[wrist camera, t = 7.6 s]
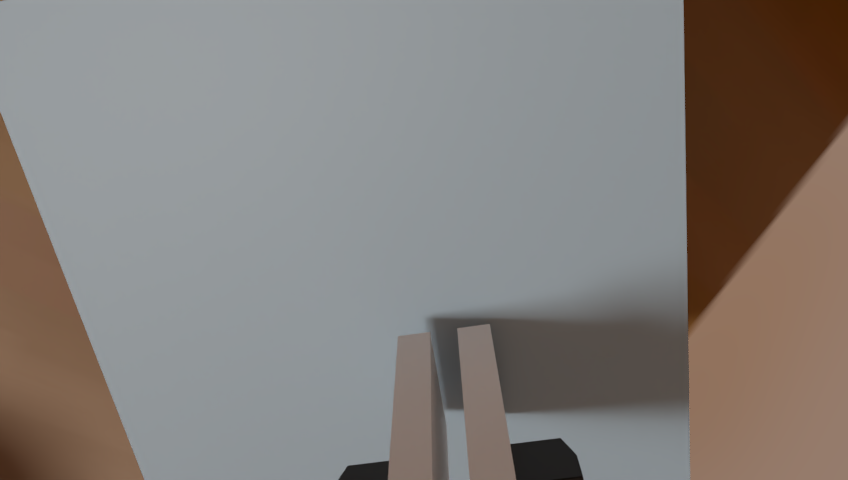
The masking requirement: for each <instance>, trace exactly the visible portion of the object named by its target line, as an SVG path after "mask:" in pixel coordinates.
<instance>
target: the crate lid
mask: <svg viewBox="0 0 848 480" xmlns="http://www.w3.org/2000/svg"><path fill="white" fill-rule="evenodd" d="M0 112H1V114H2V117H3V119H4V122H5V125H6V127H7V130H8V132H9V135H10V137H11V140H12V142H13V145H14V148H15V150H16V153H17V155H18V158H19V160H20V163H21V165H22V168H23V171H24V173H25V176H26V178H27V181H28V183H29V186H30V188H31V191H32V194H33V196H34V199H35V201H36V204H37V206H38V209H39V211H40V214H41V217H42V219H43V222H44V224H45V227H46V229H47V232H48V234H49V237H50V240H51V242H52V245H53V247H54V250H55V252H56V255H57V257H58V260H59V262H60V265H61V268H62V270H63V273H64V275H65V278H66V280H67V283H68V285H69V288H70V291H71V293H72V296H73V298H74V301H75V303H76V306H77V308H78V311H79V314H80V316H81V319H82V321H83V324H84V326H85V329H86V331H87V334H88V337H89V339H90V342H91V344H92V347H93V349H94V352H95V354H96V357H97V360H98V362H99V365H100V367H101V370H102V372H103V375H104V377H105V380H106V383H107V385H108V388H109V390H110V393H111V395H112V398H113V400H114V403H115V406H116V408H117V411H118V413H119V416H120V418H121V421H122V423H123V426H124V429H125V431H126V434H127V436H128V439H129V441H130V444H131V446H132V449H133V452H134V454H135V457H136V459H137V462H138V464H139V467H140V469H141V472H142V475H143V477H144V480H338V479H339V478H340V476H341V475H342V473H343V472H344V470H345V469H346V467H347V466H349V465H358V464H366V463H374V462H382V461H389V456H390V442H391V428H392V414H393V399H394V385H395V371H396V357H397V342H398V336H403V335H410V334H418V333H425V332H430V334H431V339H432V345H433V351H434V357H435V362H436V368H437V374H438V380H439V385H440V391H441V397H442V402H443V408H444V414H445V420H446V425H447V444H448V467H449V480H470V477H469V465H468V453H467V441H466V429H465V417H464V405H463V392H462V380H461V368H460V356H459V344H458V332H457V328H463V327H470V326H478V325H485V324H490V328H491V334H492V340H493V346H494V352H495V358H496V364H497V369H498V375H499V381H500V387H501V393H502V399H503V405H504V411H505V416H506V422H507V428H508V434H509V440H510V444H515V443H523V442H531V441H539V440H548V439H556V438H561V439H562V440H563V441H564V442H565V443H566V444H567V445H568V446H569V447H570V448H571V449H572V451H573V452H574V453H575V454H576V455H577V458H578V461H579V464H580V468H581V471H582V474H583V479H584V480H690V440H689V438H690V437H689V369H688V368H689V365H688V291H687V219H686V147H685V74H684V2H683V0H3V1H0Z"/></svg>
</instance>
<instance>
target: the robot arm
mask: <svg viewBox="0 0 848 480" xmlns="http://www.w3.org/2000/svg"><path fill="white" fill-rule="evenodd" d="M457 332H458V344H459V356H460V368H461V380H462V392H463V405H464V417H465V429H466V441H467V453H468V465H469V477H470V480H584V479H583V474H582V471H581V468H580V464H579V461H578V458H577V455H576V454H575V453H574V452H573V451H572V449H571V448H570V447H569V446H568V445H567V444H566V443H565V442H564V441H563V440H562V439H561V438H556V439H548V440H539V441H531V442H523V443H515V444H510V440H509V434H508V428H507V422H506V416H505V411H504V405H503V399H502V393H501V387H500V381H499V375H498V369H497V364H496V358H495V352H494V346H493V340H492V334H491V328H490V324H485V325H478V326H470V327H463V328H457ZM338 480H449V467H448V444H447V425H446V420H445V414H444V408H443V402H442V397H441V391H440V385H439V380H438V374H437V368H436V362H435V357H434V351H433V345H432V339H431V334H430V332H425V333H418V334H410V335H403V336H398V342H397V357H396V371H395V385H394V399H393V414H392V428H391V442H390V456H389V461H382V462H374V463H366V464H358V465H349V466H347V467H346V469H345V470H344V472H343V473H342V475H341V476H340V478H339V479H338Z"/></svg>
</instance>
